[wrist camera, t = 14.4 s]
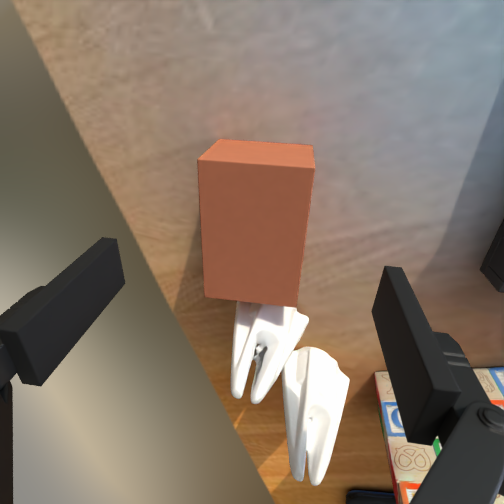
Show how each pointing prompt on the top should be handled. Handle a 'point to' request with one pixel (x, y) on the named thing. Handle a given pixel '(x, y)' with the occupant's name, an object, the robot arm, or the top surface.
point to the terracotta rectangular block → (254, 219)
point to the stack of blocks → (416, 455)
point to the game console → (370, 497)
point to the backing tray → (495, 261)
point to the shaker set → (290, 381)
